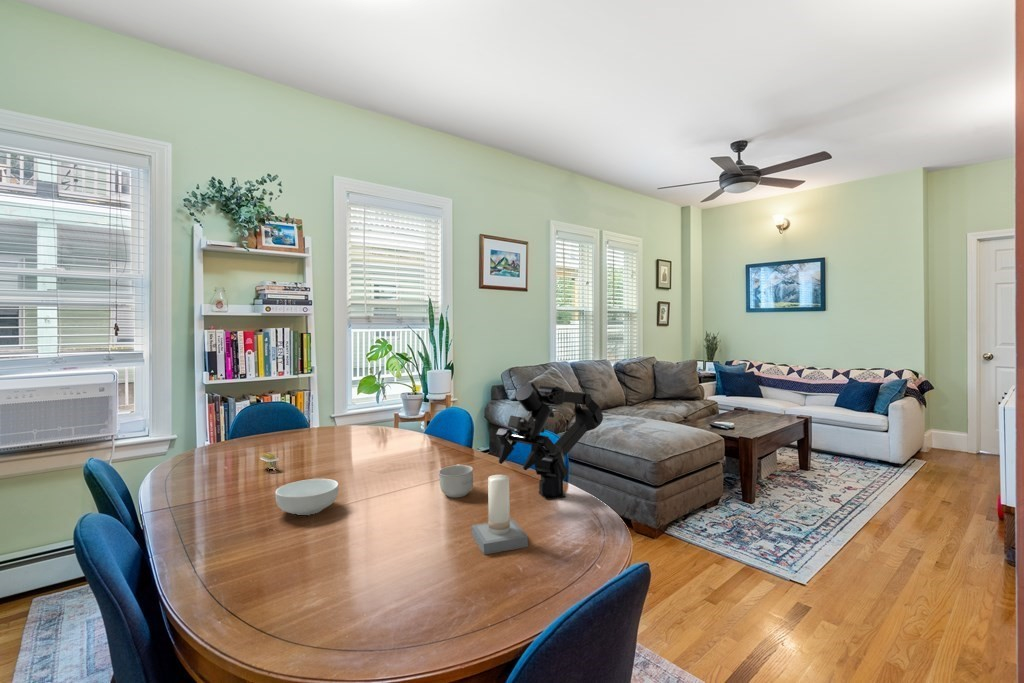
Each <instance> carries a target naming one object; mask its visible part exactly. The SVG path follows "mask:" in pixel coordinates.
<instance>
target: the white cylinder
mask: <svg viewBox="0 0 1024 683" xmlns="http://www.w3.org/2000/svg"><path fill="white" fill-rule="evenodd" d="M487 486H488V488H487V491H488V492H487V494H488V497H487V498H488V499H487V500H488V502H487V503H488V504H487V505H488V519H487V520H488V522H487V523H488V525H489V532H490V533H491V534H495V535H503V534H506V533H508V532H509V531H510V519H511V516H510V515H511V512H510V509H511V508H510V507H511V506H510V504H511V503H510V502H511V501H510V497H511V496H510V477H509V475H506V474H492V475H490V476H488V478H487Z"/></svg>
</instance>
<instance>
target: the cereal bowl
mask: <svg viewBox="0 0 1024 683" xmlns="http://www.w3.org/2000/svg"><path fill="white" fill-rule="evenodd" d="M339 486H340V485H339V482H338V481H336V480H334V479H330V478H310V479H302V480H297V481H293V482H289V483H287V484H284V485H281V486H280V487H278V488H277V489H275V495H274V496H275V501H276V502H275V503H276V505H277V506H278V508H279V509H280V510H281V511H283V512H286V513H289V514H293V515H294V514H297V515H308V516H311V515H310V514H313V515H315V513H316V514H318V513H320V512H322V511H323V510H324V509H326V508H328V507H329V506H332V504H333V503H335V501H336V500H337V497H338V495H339Z"/></svg>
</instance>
